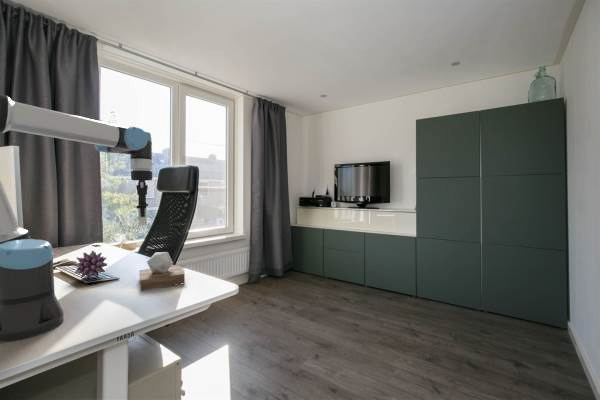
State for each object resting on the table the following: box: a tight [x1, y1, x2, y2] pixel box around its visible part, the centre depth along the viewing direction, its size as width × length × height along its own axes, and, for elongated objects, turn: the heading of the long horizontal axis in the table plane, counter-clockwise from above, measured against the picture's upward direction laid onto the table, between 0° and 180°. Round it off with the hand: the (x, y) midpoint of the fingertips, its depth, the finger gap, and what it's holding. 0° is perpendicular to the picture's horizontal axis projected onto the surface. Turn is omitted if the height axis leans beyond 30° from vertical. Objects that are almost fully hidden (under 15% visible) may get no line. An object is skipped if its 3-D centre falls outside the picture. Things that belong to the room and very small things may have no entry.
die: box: [146, 251, 174, 273], centre depth 119 cm, size 8×9×10 cm
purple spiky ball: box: [73, 250, 108, 279], centre depth 125 cm, size 12×12×12 cm
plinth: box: [139, 264, 185, 292], centre depth 119 cm, size 15×15×4 cm
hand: (143, 223), depth 119 cm, fingers open, 13 cm apart
